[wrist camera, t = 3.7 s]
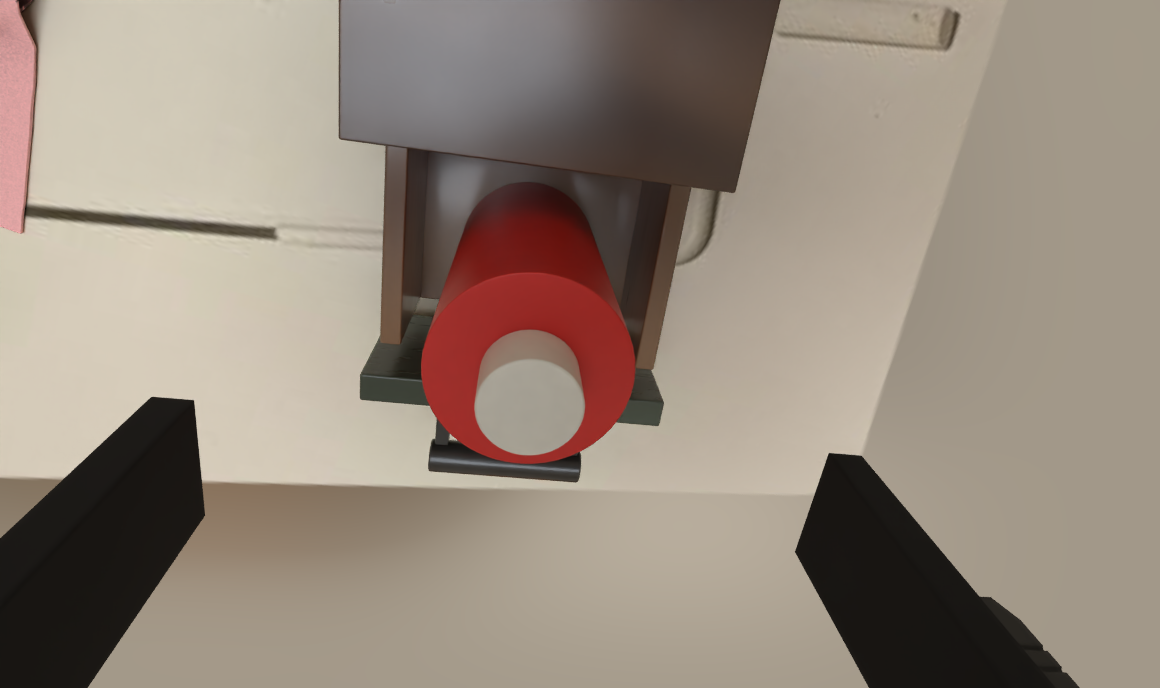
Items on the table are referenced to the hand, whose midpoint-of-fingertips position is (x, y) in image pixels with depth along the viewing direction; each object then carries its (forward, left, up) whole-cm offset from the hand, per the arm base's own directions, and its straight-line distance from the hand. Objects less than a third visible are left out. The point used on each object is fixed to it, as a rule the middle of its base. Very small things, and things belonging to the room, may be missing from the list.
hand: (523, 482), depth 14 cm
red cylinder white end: (0, 0, -18) cm, 18 cm away
